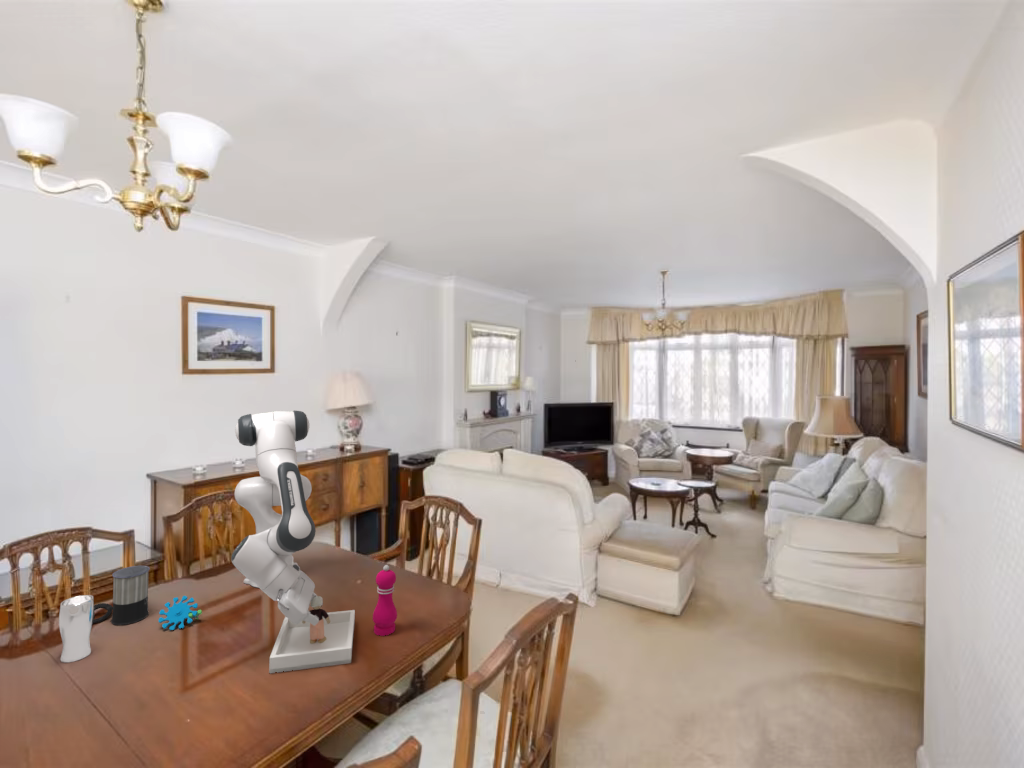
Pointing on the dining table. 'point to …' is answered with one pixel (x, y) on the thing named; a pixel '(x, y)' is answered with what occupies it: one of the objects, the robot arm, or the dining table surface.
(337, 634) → the tray
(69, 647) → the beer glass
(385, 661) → the dining table surface
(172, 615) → the gear
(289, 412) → the robot arm
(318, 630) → the grandmother figurine
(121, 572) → the milk frother
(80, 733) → the dining table surface
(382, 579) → the pepper mill
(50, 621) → the dining table surface
